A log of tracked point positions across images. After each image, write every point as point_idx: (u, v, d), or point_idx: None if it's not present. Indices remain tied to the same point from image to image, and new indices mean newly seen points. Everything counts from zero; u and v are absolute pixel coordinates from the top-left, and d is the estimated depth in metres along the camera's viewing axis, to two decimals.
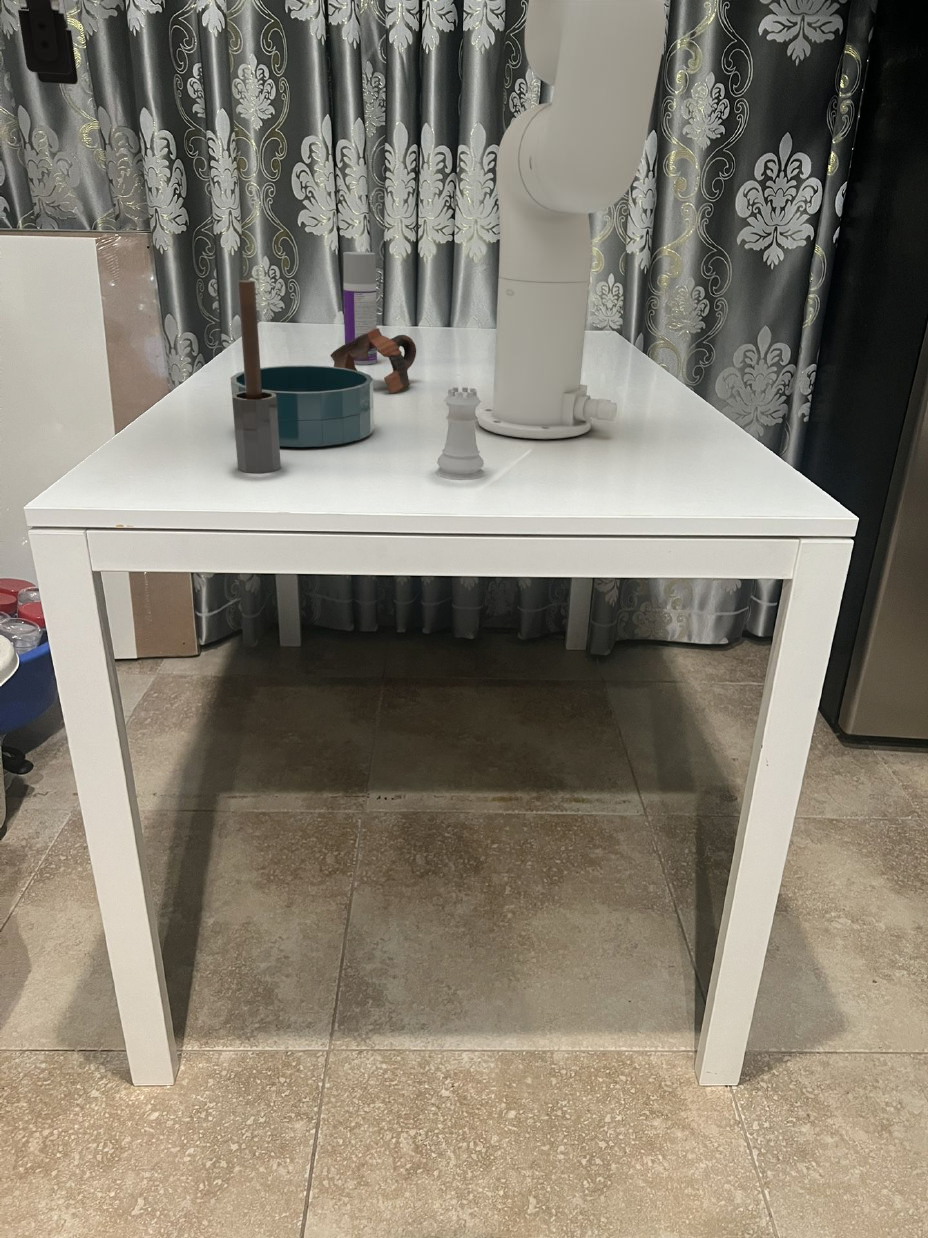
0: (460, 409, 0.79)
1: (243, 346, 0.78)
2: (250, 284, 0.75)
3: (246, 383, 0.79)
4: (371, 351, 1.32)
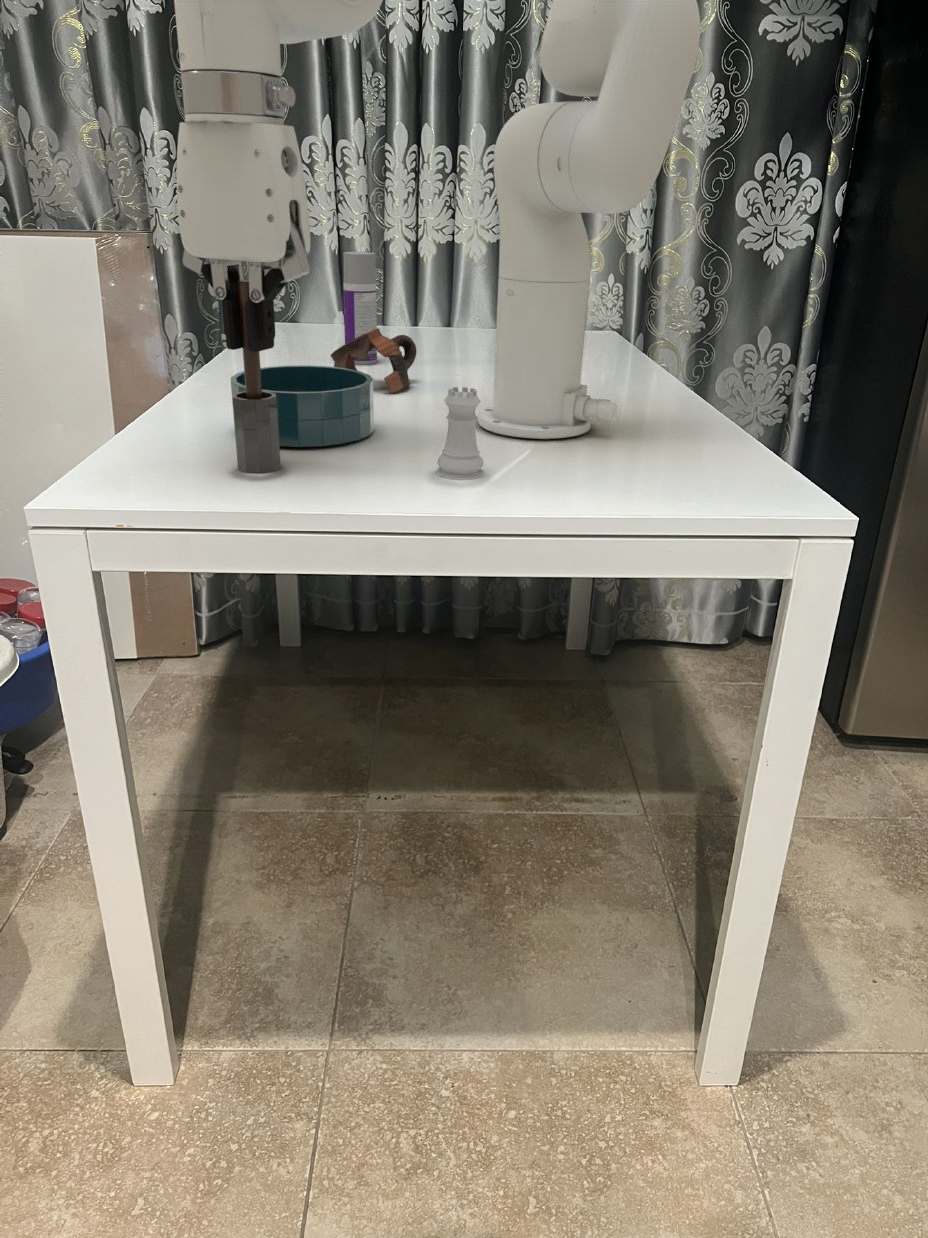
0: (460, 409, 0.79)
1: (243, 346, 0.78)
2: None
3: (246, 383, 0.79)
4: (371, 351, 1.32)
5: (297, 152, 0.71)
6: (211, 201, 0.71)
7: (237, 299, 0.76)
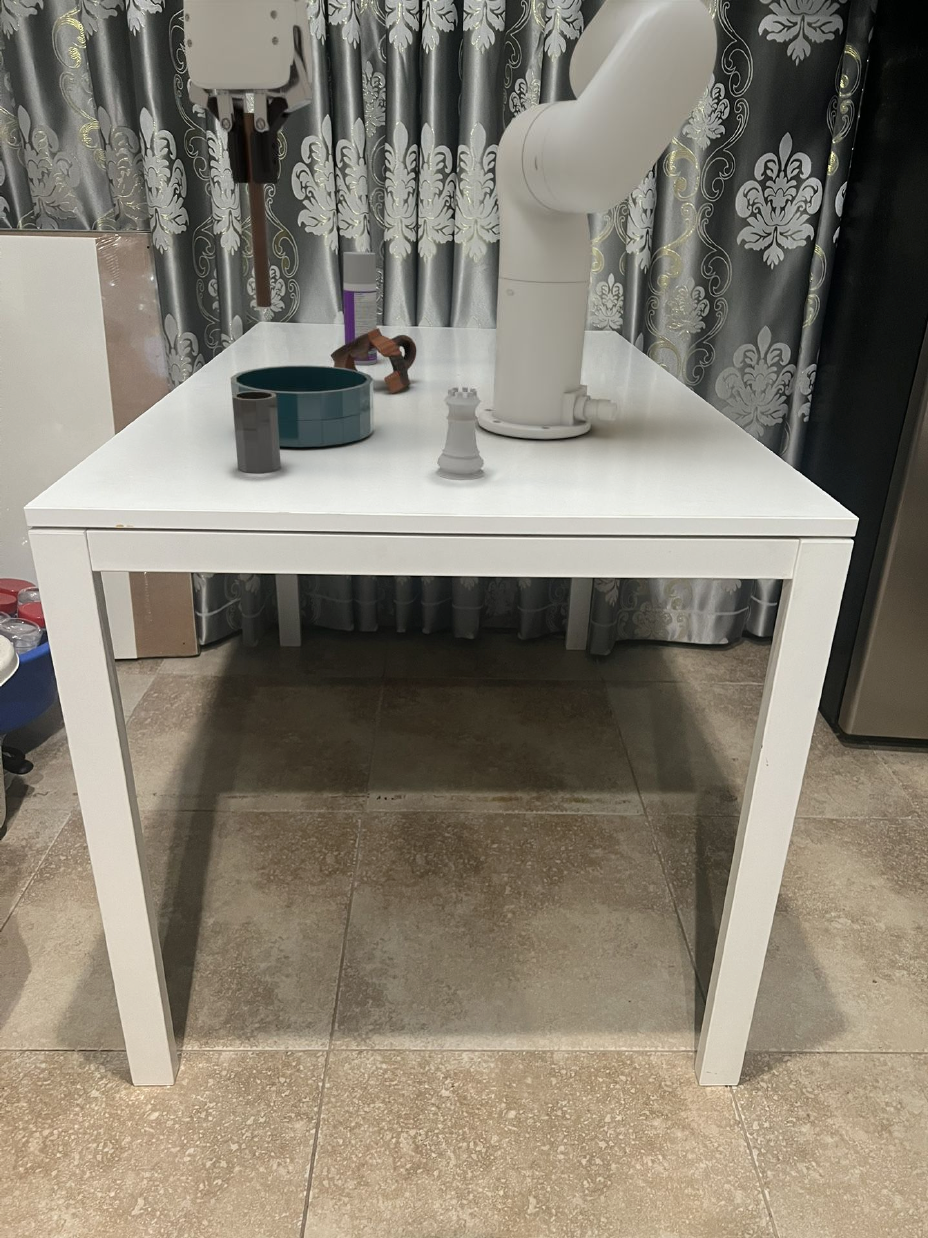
0: (460, 409, 0.79)
1: (248, 180, 0.81)
2: None
3: (251, 218, 0.82)
4: (371, 351, 1.32)
5: None
6: (217, 27, 0.74)
7: (242, 132, 0.79)
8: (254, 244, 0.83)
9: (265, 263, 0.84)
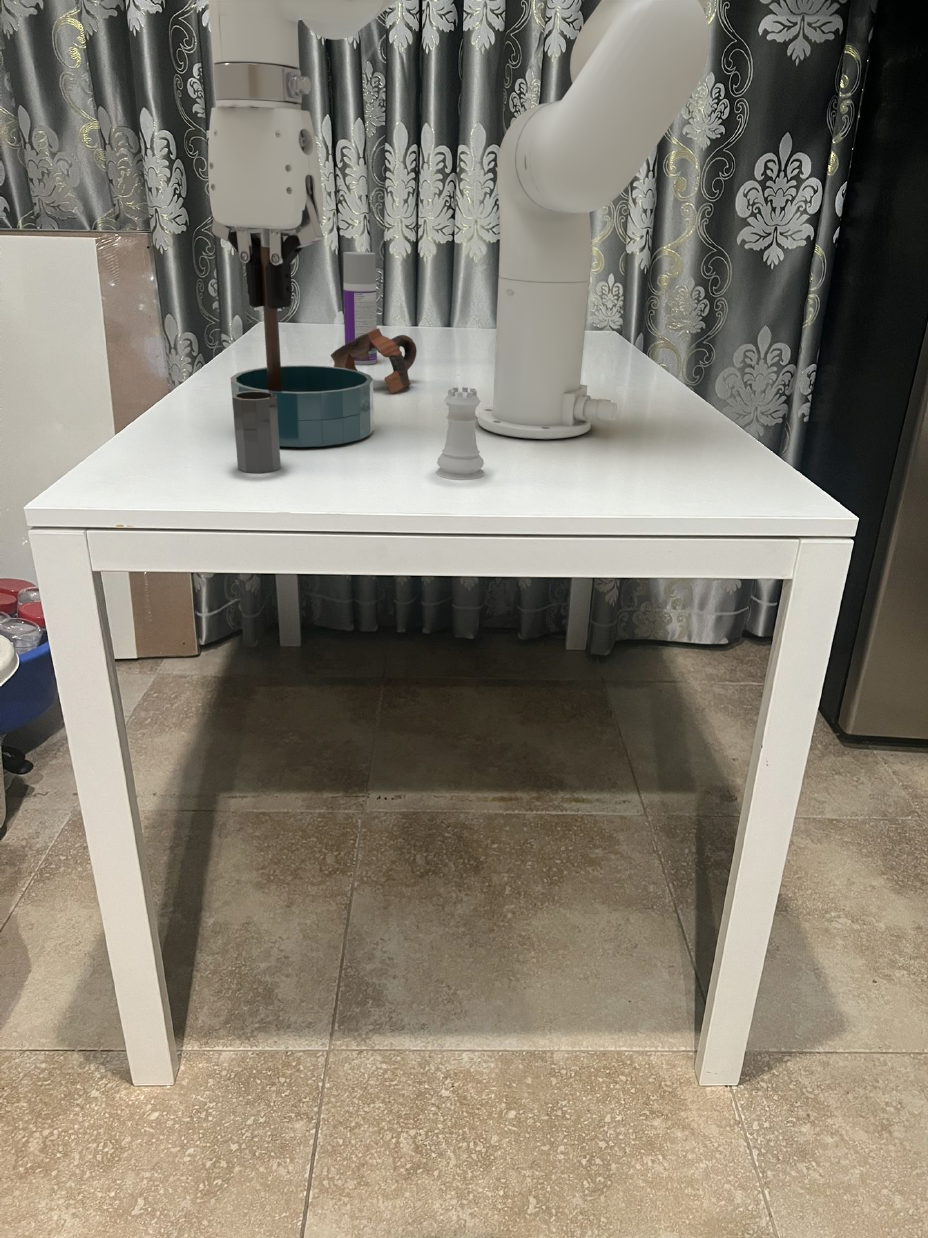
0: (460, 409, 0.79)
1: (263, 304, 0.89)
2: None
3: (266, 337, 0.90)
4: (371, 351, 1.32)
5: (312, 134, 0.82)
6: (238, 176, 0.83)
7: (259, 262, 0.88)
8: (268, 359, 0.91)
9: (278, 376, 0.92)
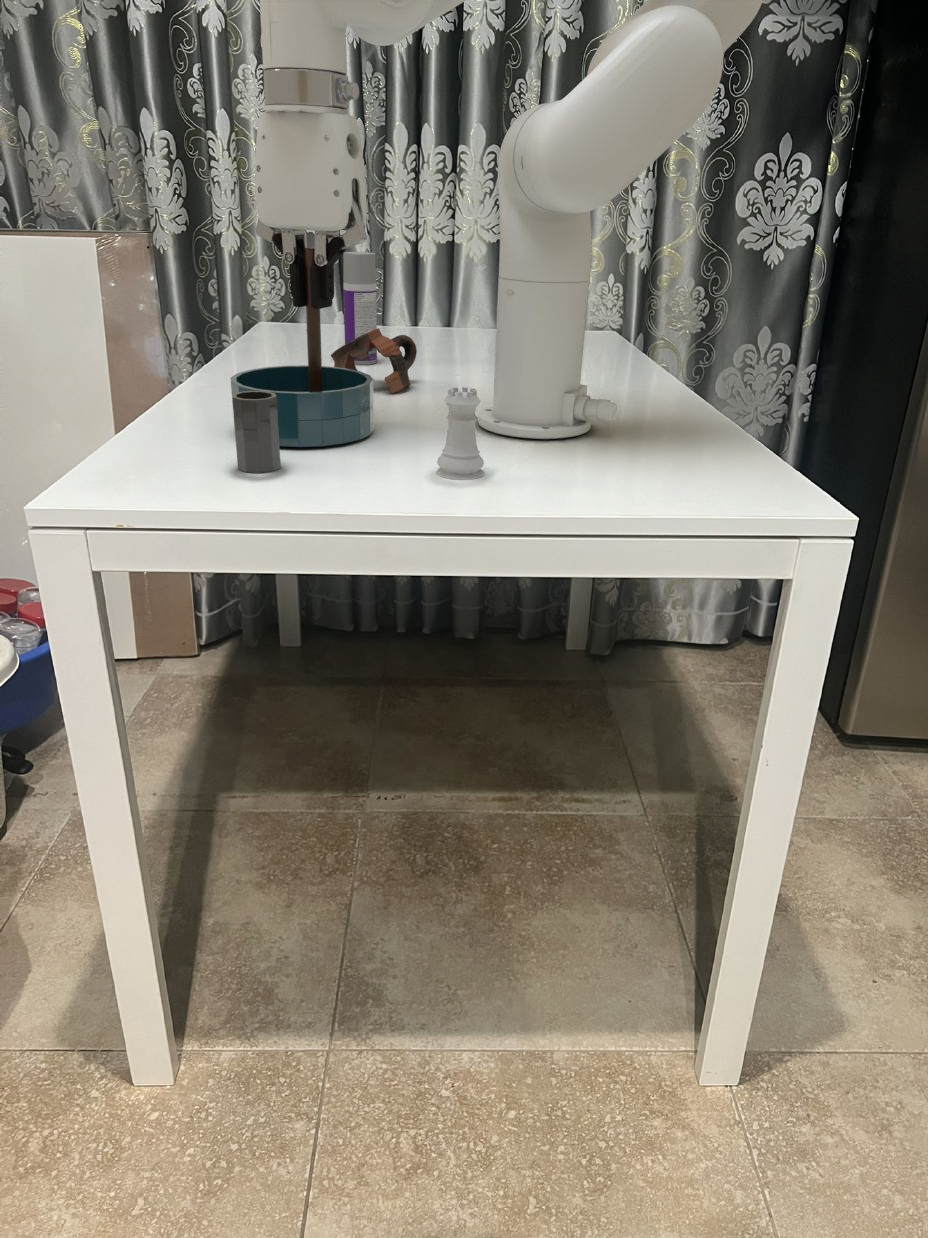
0: (460, 409, 0.79)
1: (307, 304, 0.91)
2: (314, 250, 0.89)
3: (308, 336, 0.92)
4: (371, 351, 1.32)
5: (358, 138, 0.84)
6: (285, 179, 0.85)
7: (303, 263, 0.90)
8: (310, 358, 0.93)
9: (319, 374, 0.94)
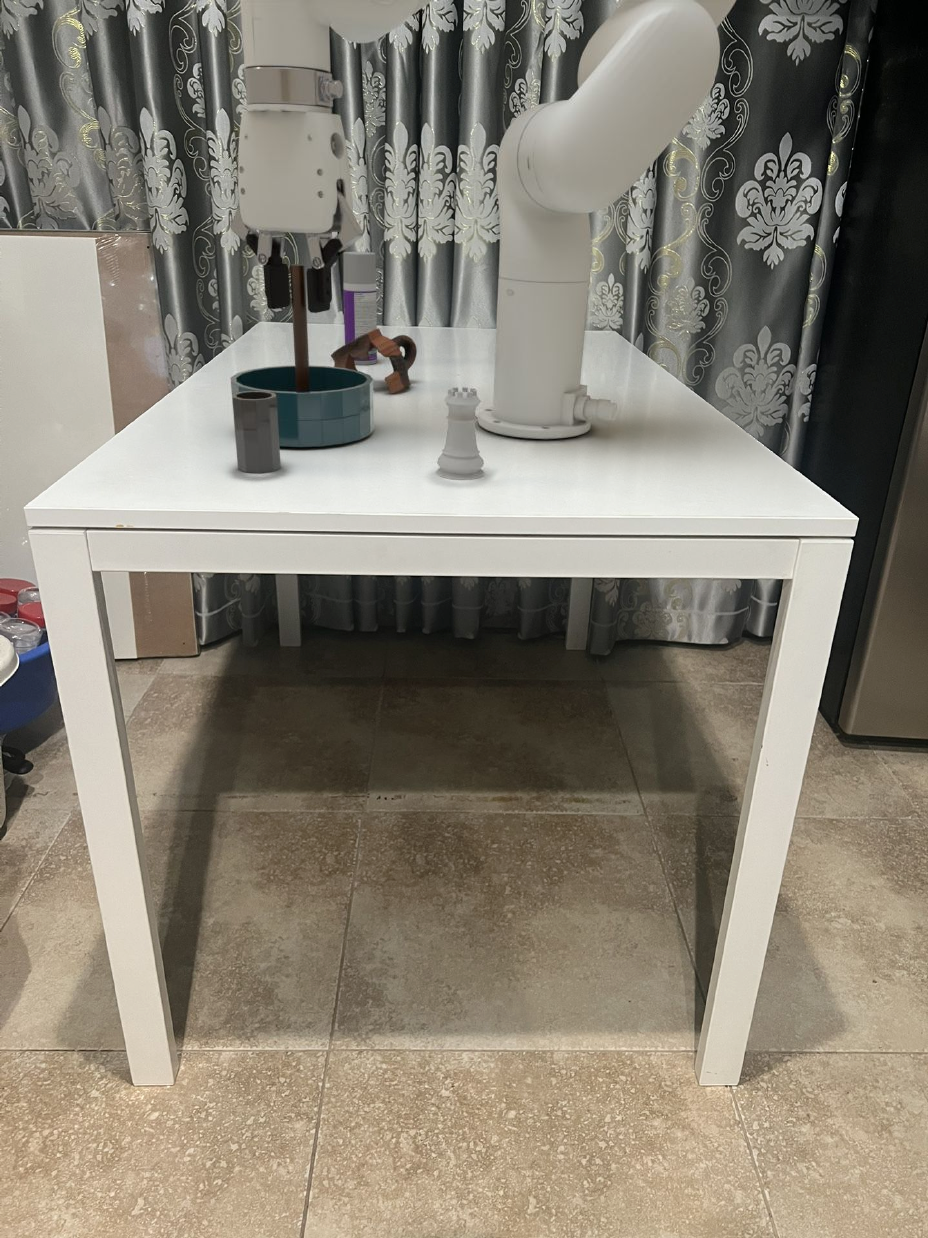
0: (460, 409, 0.79)
1: (293, 322, 0.89)
2: (301, 267, 0.87)
3: (295, 354, 0.91)
4: (371, 351, 1.32)
5: (343, 137, 0.82)
6: (268, 180, 0.83)
7: (277, 264, 0.88)
8: (297, 376, 0.92)
9: None
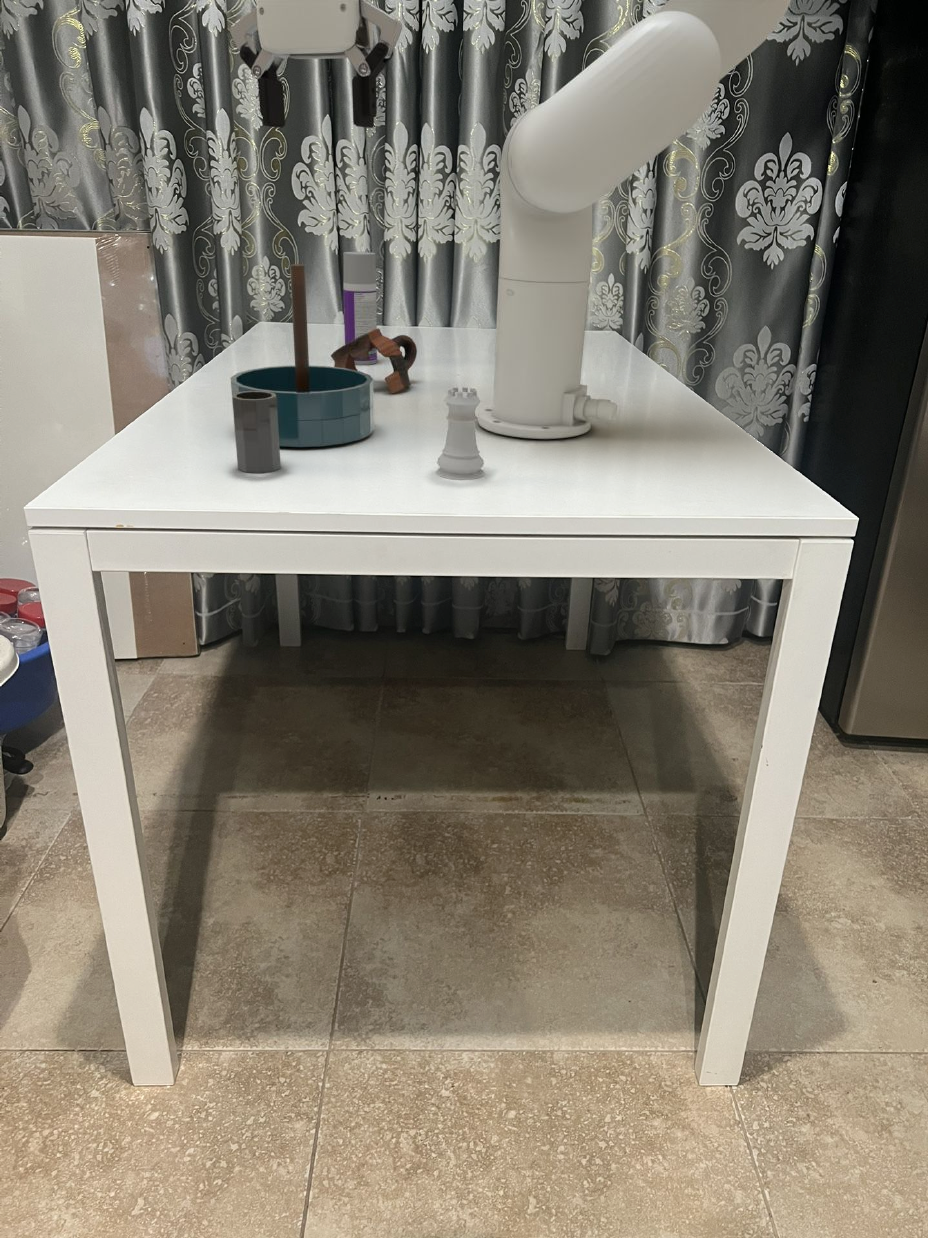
0: (460, 409, 0.79)
1: (293, 322, 0.89)
2: (301, 267, 0.87)
3: (295, 354, 0.91)
4: (371, 351, 1.32)
5: None
6: None
7: (271, 79, 0.87)
8: (297, 376, 0.92)
9: None
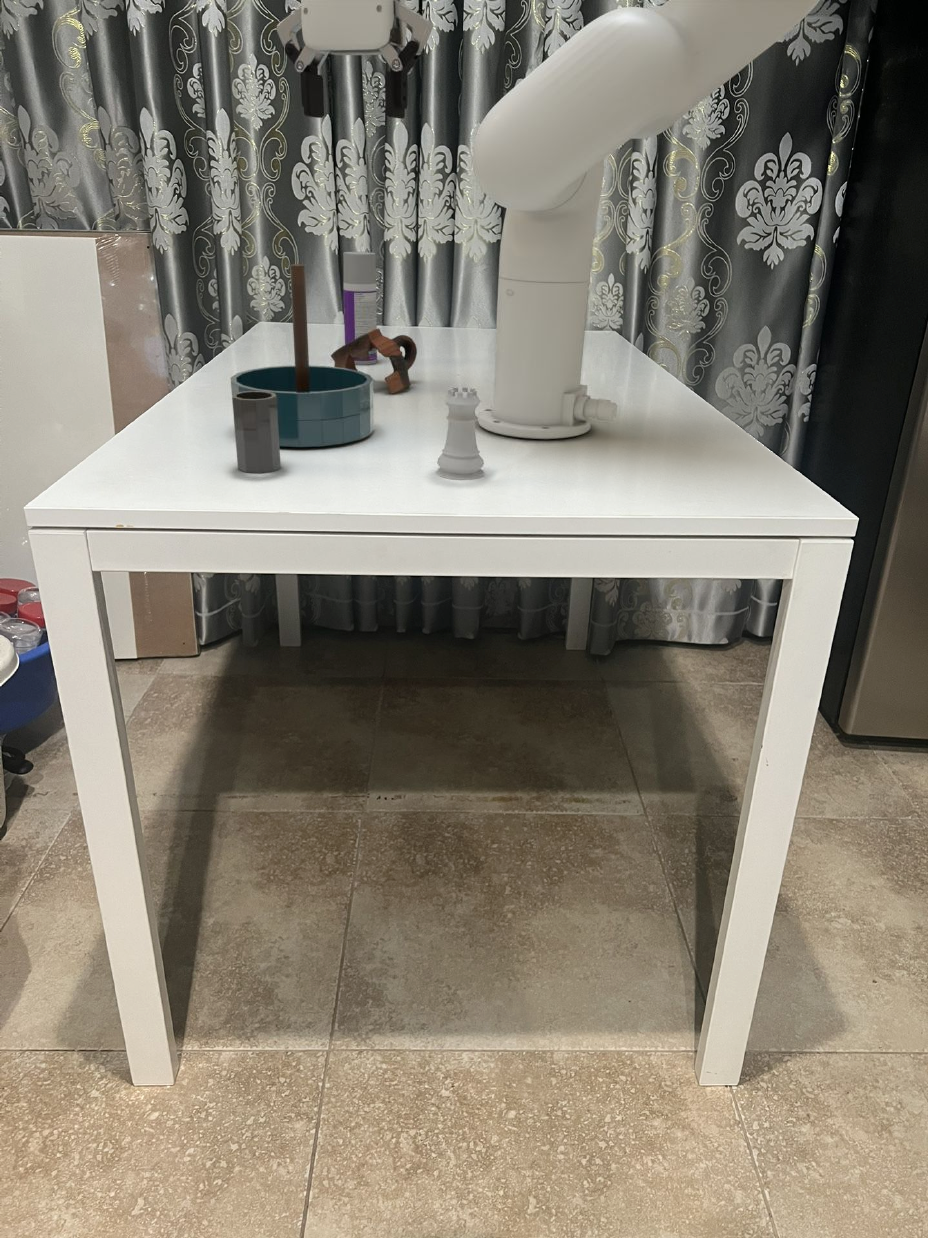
0: (460, 409, 0.79)
1: (293, 322, 0.89)
2: (301, 267, 0.87)
3: (295, 354, 0.91)
4: (371, 351, 1.32)
5: None
6: None
7: (313, 73, 0.95)
8: (297, 376, 0.92)
9: None
